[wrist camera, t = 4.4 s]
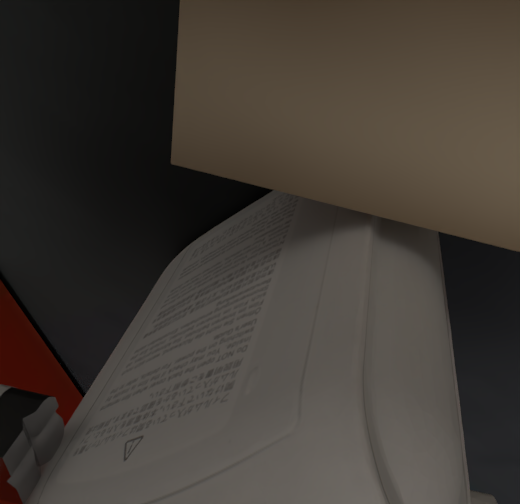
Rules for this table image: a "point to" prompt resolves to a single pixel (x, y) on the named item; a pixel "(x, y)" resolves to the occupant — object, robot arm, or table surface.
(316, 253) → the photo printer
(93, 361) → the table surface
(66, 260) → the table surface
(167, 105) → the table surface
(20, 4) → the table surface
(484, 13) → the oak box
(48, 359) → the file binder
